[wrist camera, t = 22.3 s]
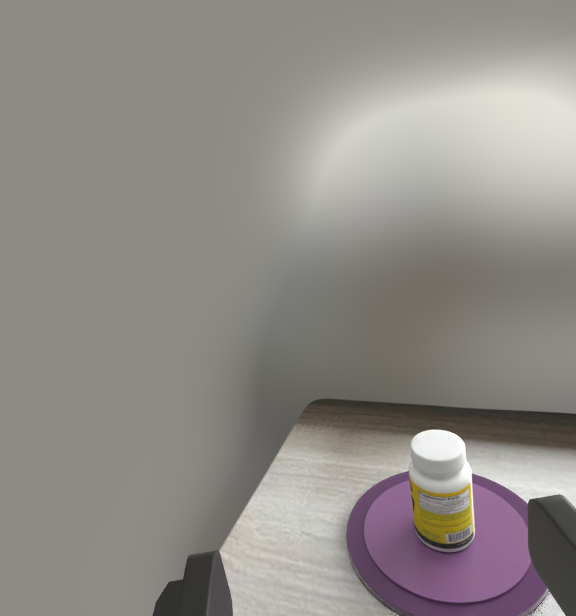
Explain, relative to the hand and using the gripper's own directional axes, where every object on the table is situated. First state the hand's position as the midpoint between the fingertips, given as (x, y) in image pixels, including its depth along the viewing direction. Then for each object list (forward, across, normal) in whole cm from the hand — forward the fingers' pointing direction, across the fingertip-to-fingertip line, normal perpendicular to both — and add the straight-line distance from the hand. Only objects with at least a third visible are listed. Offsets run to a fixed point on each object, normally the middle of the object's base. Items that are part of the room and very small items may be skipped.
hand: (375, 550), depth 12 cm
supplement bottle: (+20, -8, +21) cm, 30 cm away
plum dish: (+20, -8, +22) cm, 31 cm away
